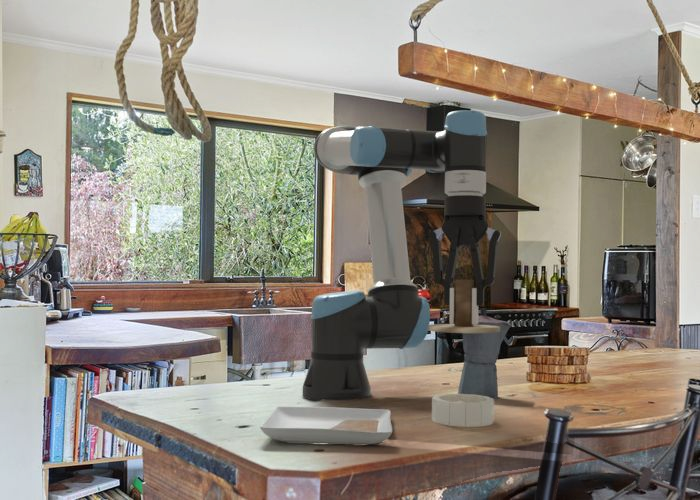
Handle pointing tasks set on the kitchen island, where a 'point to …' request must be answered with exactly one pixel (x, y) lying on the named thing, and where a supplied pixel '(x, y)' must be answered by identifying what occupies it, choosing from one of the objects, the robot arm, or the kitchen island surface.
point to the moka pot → (480, 357)
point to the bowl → (463, 410)
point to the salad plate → (325, 425)
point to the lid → (463, 313)
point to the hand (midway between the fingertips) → (463, 323)
